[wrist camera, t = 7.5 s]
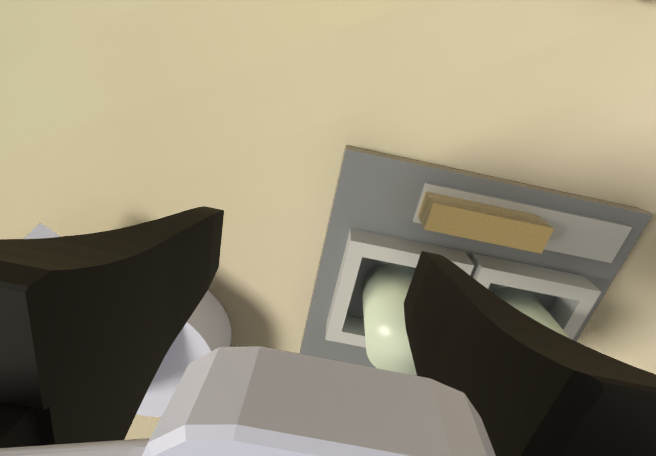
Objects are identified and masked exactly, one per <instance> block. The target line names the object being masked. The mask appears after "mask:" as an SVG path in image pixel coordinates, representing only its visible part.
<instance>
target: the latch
mask: <svg viewBox="0 0 656 456" xmlns="http://www.w3.org/2000/svg"><path fill="white" fill-rule="evenodd" d="M418 218H419V220H420V222H421V224H422V226H423V228H424V230H429V231H434V232H439V233H444V234H448V235H453V236H458V237H463V238H468V239H473V240H477V241H482V242H487V243H492V244H497V245H502V246H506V247H511V248H516V249H521V250H526V251H531V252H535V253H540V254H542V252H543V250H544V248H545V246H546V244H547V242H548V240H549V238H550V236H551V234H552V232H553V230H554V228H553V227H552V226H550V225H549V224H548V223H547V222H545V221H544V220H543V219H541V218H540V217H539V216H538V215H536V214H531V213H526V212H521V211H517V210H512V209H507V208H502V207H498V206H493V205H488V204H484V203H479V202H474V201H469V200H465V199H460V198H455V197H450V196H446V195H441V194H436V193H431V192H427V191H426V192H425V195H424V198H423V201H422V204H421V207H420V210H419V213H418Z"/></svg>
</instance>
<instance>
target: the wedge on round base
mask: <svg viewBox="0 0 656 456" xmlns="http://www.w3.org/2000/svg"><path fill="white" fill-rule="evenodd" d="M53 237H61V236H59V235H58V234H56V233H55V232H53V231H52V230H50V229H49V228H47V227H46V226H44V225H43V224H41V223H39V224H38V225H37V226H36V227H35V228H34V229H33V230H32V231H31V232H30V233H29V234H28V235H27V236H26V237H25V238H24V239H39V238H53ZM231 337H232V333H231V325H230V321H229V318H228V316H227V313H226V312H225V310H224V308H223V306H222V305H221V304H220V302H219V301H218V300H217V299H216V298H215V297H214V296H213V295H212V293H211V292H209V291H207V292H206V294H205V295H204V297H203V298H202V300H201V301H200V303H199V304H198V306H197V308H196V309H195V311H194V312H193V314H192V315H191V317H190V318H189V320H188V321H187V323H186V324H185V326H184V327H183V329H182V330H181V332H180V333H179V335H178V336H177V338H176V339H175V341H174V342H173V344H172V345H171V347H170V349H169V350H168V352H167V354H166V355H165V357H164V359H163V361H162V363H161V365H160V367H159V369H158V371H157V373H156V375H155V377H154V379H153V380H152V382H151V384H150V386H149V388H148V390H147V393H146V395H145V397H144V399H143V401H142V403H141V405H140V407H139V409H138V411H137V413H136V414H138V415H143V416H151V417H162V415H163V413H164V411H165V409H166V407H167V405H168V403H169V401H170V399H171V397H172V396H173V394H174V392H175V390H176V388H177V386H178V384H179V382H180V380H181V378H182V376H183V375H184V373H185V371H186V369H187V367H188V365H189V363H191V362H193V361H195V360H197V359H198V358H200V357H202V356H204V355H206V354H208V353H210V352H211V351H213V350H215V349H217V348H219V347H230V344H231Z"/></svg>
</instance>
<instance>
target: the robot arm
mask: <svg viewBox="0 0 656 456" xmlns="http://www.w3.org/2000/svg"><path fill="white" fill-rule="evenodd" d="M223 215H224V210H219V209H214V208H210V207H198V208H194V209H190V210H187V211H184V212H180V213H177V214H174V215H170V216H167V217H164V218H160V219H157V220H153V221H149V222H145V223H141V224H138V225H134V226H130V227H125V228H121V229H116V230H110V231H104V232H98V233H92V234H84V235H74V236H64V237H53V238H39V239H8V240H0V456H656V375H655V374H653V373H650V372H647V371H644V370H641V369H639V368H636V367H633V366H631V365H628V364H626V363H623V362H621V361H619V360H616V359H614V358H611V357H609V356H607V355H604V354H602V353H599V352H597V351H595V350H593V349H591V348H588V347H586V346H584V345H582V344H580V343H578V342H576V341H574V340H572V339H570V338H568V337H566V336H564V335H562V334H560V333H558V332H556V331H554V330H552V329H550V328H548V327H546V326H544V325H543V324H541V323H539V322H538V321H536V320H534V319H532V318H531V317H529V316H527V315H526V314H524V313H522V312H521V311H519V310H518V309H516V308H514V307H513V306H511V305H510V304H508V303H507V302H505V301H504V300H503V299H501V298H500V297H498V296H497V295H495V294H494V293H493V292H491V291H490V290H488V289H487V288H486V287H484V286H483V285H482V284H480V283H479V282H478V281H477V280H475V279H474V278H473V277H471V276H470V275H469V274H467V273H466V272H465V271H464V270H462V269H461V268H460V267H458V266H457V265H456V264H454V263H453V262H452V261H450V260H449V259H447V258H446V257H444V256H442V255H440V254H435V253H430V252H425V251H422V252H421V254H420V257H419V260H418V263H417V266H416V269H415V272H414V275H413V277H412V280H411V283H410V286H409V289H408V292H407V295H406V298H405V300H404V316H405V326H406V332H407V337H408V341H409V345H410V349H411V353H412V357H413V361H414V365H415V369H416V373H417V376H415V375H409V374H404V373H399V372H394V371H388V370H383V369H378V368H372V367H367V366H362V365H357V364H351V363H346V362H341V361H336V360H330V359H325V358H320V357H314V356H309V355H304V354H299V353H293V352H288V351H283V350H277V349H272V348H267V347H262V346H247V347H219V348H217V349H215V350H213V351H211V352H210V353H208V354H206V355H204V356H202V357H200V358H198V359H197V360H195V361H193V362H191V363H189V365H188V367H187V369H186V371H185V373H184V375H183V376H182V378H181V380H180V382H179V384H178V386H177V388H176V390H175V392H174V394H173V396H172V397H171V399H170V401H169V403H168V405H167V407H166V409H165V411H164V413H163V415H162V417H161V418H160V420H159V422H158V424H157V426H156V428H155V430H154V432H153V434H152V436H151V438H147V439H132V440H124V439H125V437H126V434H127V432H128V430H129V428H130V426H131V424H132V421H133V419H134V417H135V415H136V413H137V411H138V409H139V407H140V405H141V403H142V401H143V399H144V397H145V395H146V393H147V390H148V388H149V386H150V384H151V382H152V380H153V379H154V377H155V375H156V373H157V371H158V369H159V367H160V365H161V363H162V361H163V359H164V357H165V355H166V354H167V352H168V350H169V349H170V347H171V345H172V344H173V342H174V341H175V339H176V338H177V336H178V335H179V333H180V332H181V330H182V329H183V327H184V326H185V324H186V323H187V321H188V320H189V318H190V317H191V315H192V314H193V312H194V311H195V309H196V308H197V306H198V304H199V303H200V301H201V300H202V298H203V297H204V295H205V294H206V292H207V291H208V288H209V286H210V284H211V282H212V280H213V278H214V276H215V273H216V271H217V269H218V267H219V257H220V246H221V236H222V226H223Z"/></svg>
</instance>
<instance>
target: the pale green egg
mask: <svg viewBox="0 0 656 456" xmlns="http://www.w3.org/2000/svg"><path fill="white" fill-rule="evenodd" d="M493 293H494V294H495V295H497V296H498V297H500V298H501V299H503V300H504V301H505V302H507V303H508V304H510V305H511V306H513V307H514V308H516V309H518V310H519V311H521V312H522V313H524V314H526V315H527V316H529V317H531V318H532V319H534V320H536V321H538V322H539V323H541V324H543V325H544V326H546V327H548V328H550V329H552V330H554V331H556V332H558V333H560V334H562V335H564V336H566V337H568V335H567V334H566V333H565V332H564V330H563V329H562V328H561V327H560V326H559V324H558V323H557V322H556V321H555V320H554V318H553V317H552V316H551V315H550V313H549V312H548V311H547V310H546V309H545V307H544V306H543V305H542V304H541V303H540V301H539V300H538V299H537V298H536V296H535V295H534V294H533V293H532V292H530V291H528V290H523V289H518V288H513V287H504V288H500V289H497V290H495V291H493ZM568 338H569V337H568Z"/></svg>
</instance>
